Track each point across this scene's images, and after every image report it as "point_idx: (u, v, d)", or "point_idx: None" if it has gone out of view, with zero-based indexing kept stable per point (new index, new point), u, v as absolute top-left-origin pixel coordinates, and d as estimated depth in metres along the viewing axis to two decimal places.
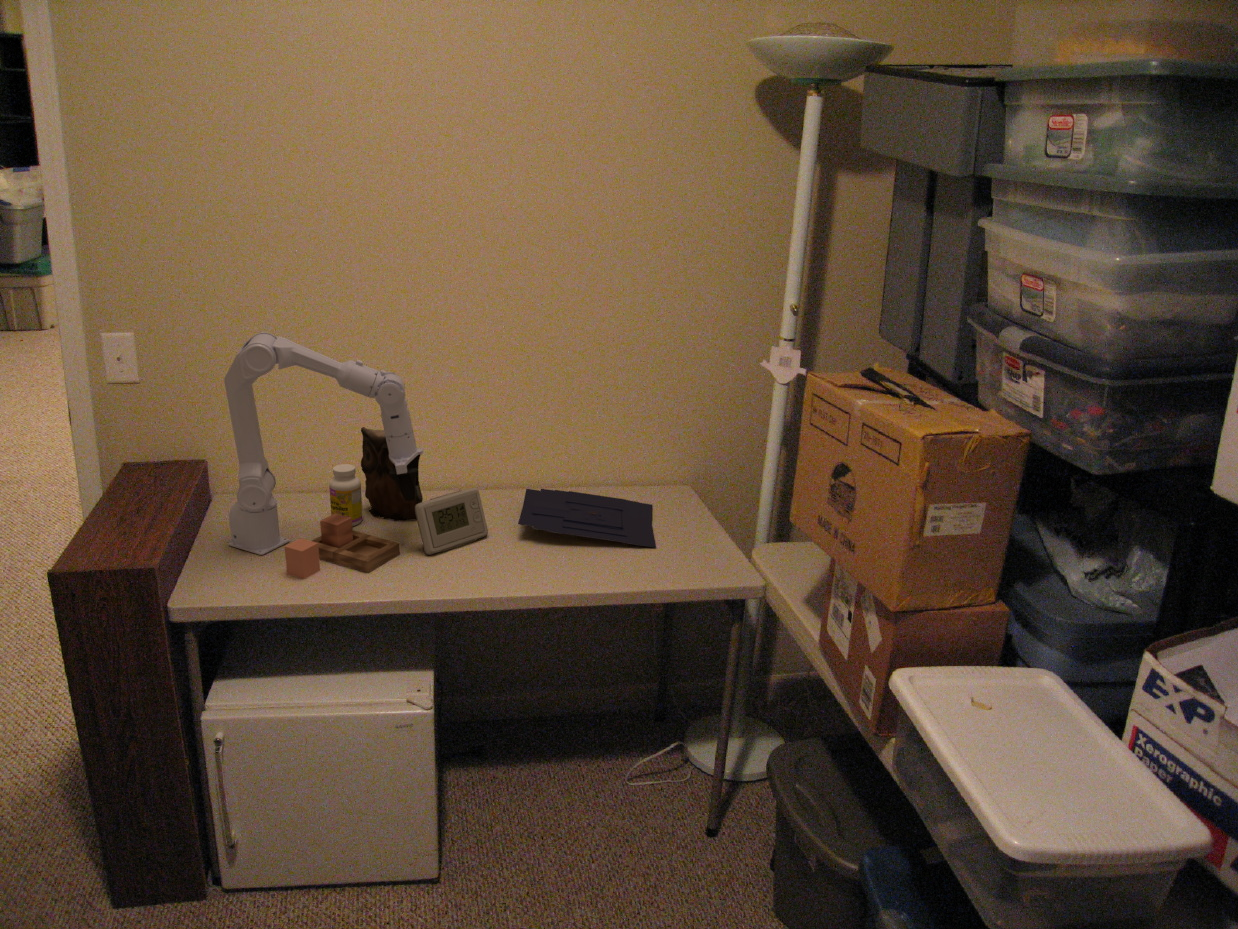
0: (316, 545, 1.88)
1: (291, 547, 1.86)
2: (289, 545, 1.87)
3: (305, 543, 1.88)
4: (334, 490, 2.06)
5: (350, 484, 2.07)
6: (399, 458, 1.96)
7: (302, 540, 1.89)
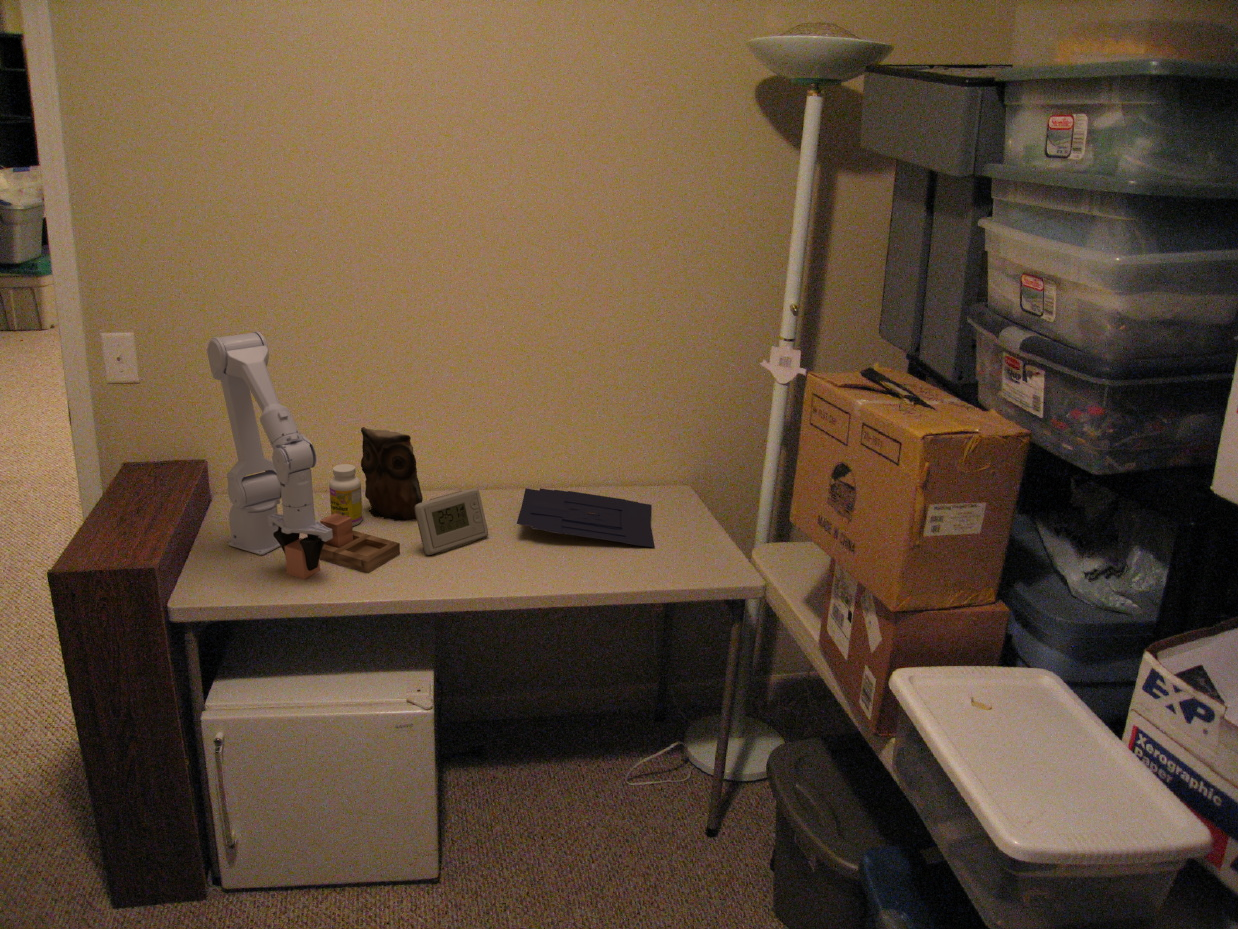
0: None
1: (291, 547, 1.86)
2: (289, 544, 1.87)
3: None
4: (334, 490, 2.06)
5: (350, 484, 2.07)
6: None
7: None
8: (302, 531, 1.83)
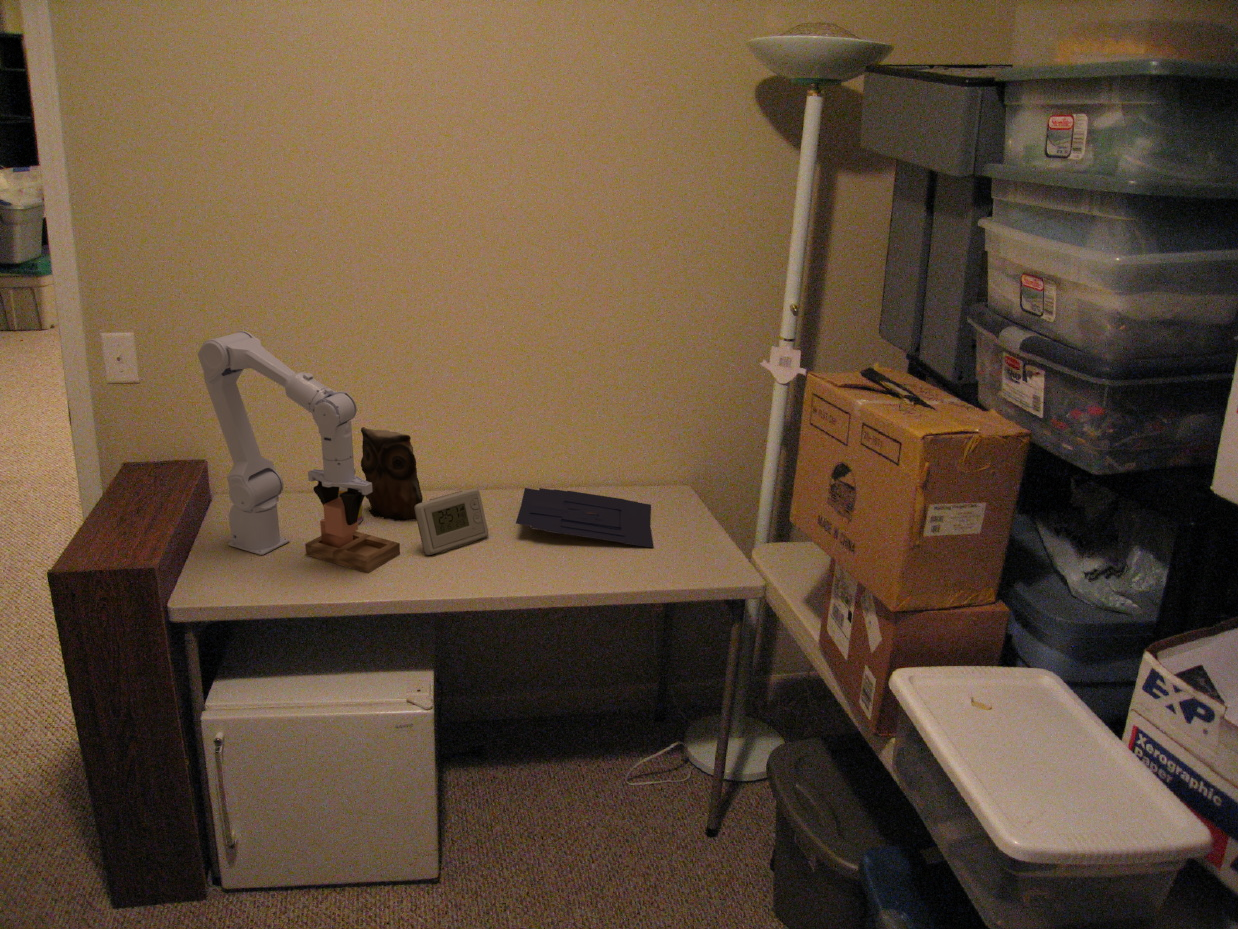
0: None
1: (329, 505, 1.87)
2: (327, 503, 1.88)
3: None
4: None
5: None
6: None
7: (340, 499, 1.90)
8: (342, 485, 1.84)
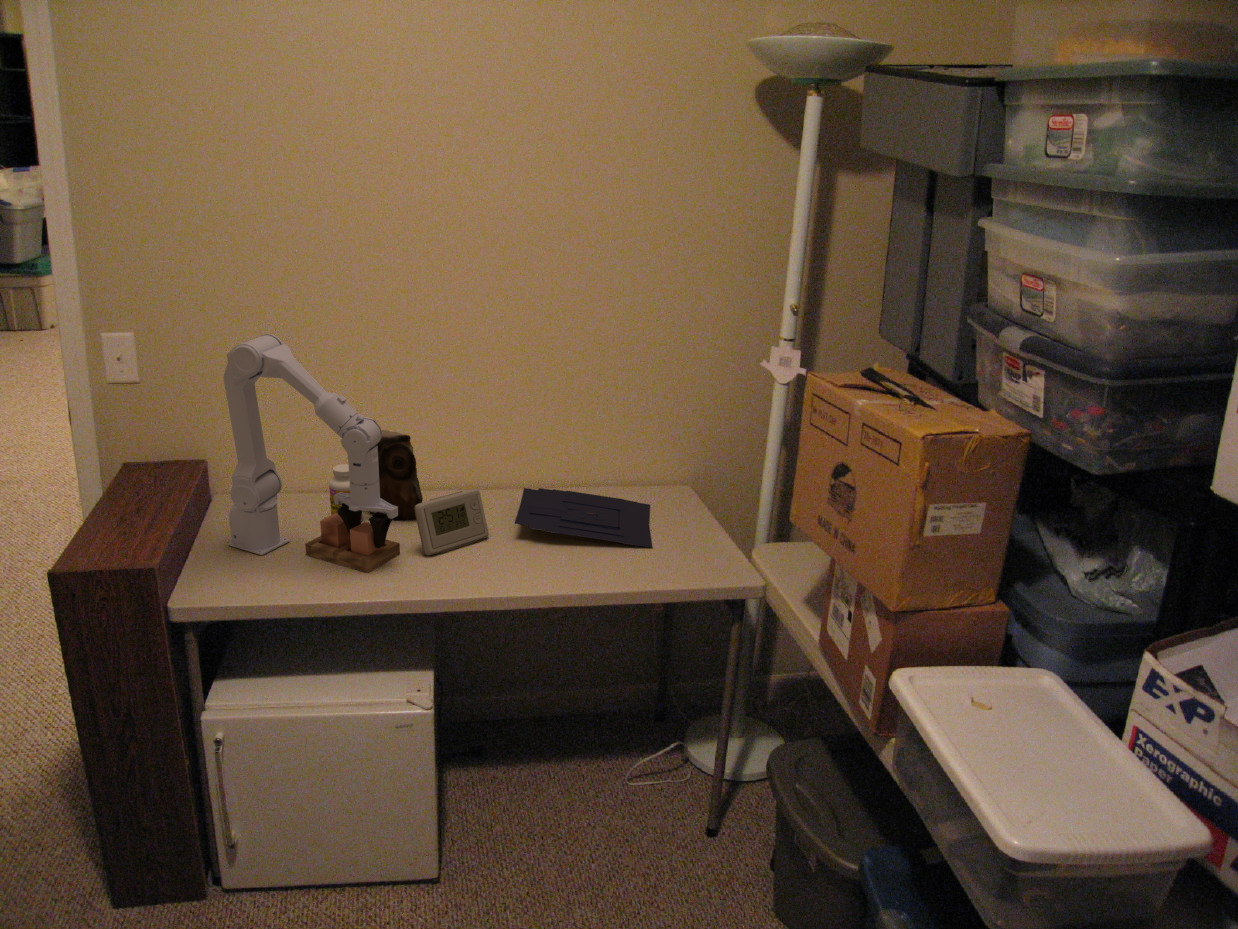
0: None
1: (356, 531, 1.92)
2: (354, 528, 1.93)
3: (369, 527, 1.93)
4: (334, 490, 2.06)
5: None
6: None
7: (366, 524, 1.95)
8: (369, 509, 1.88)
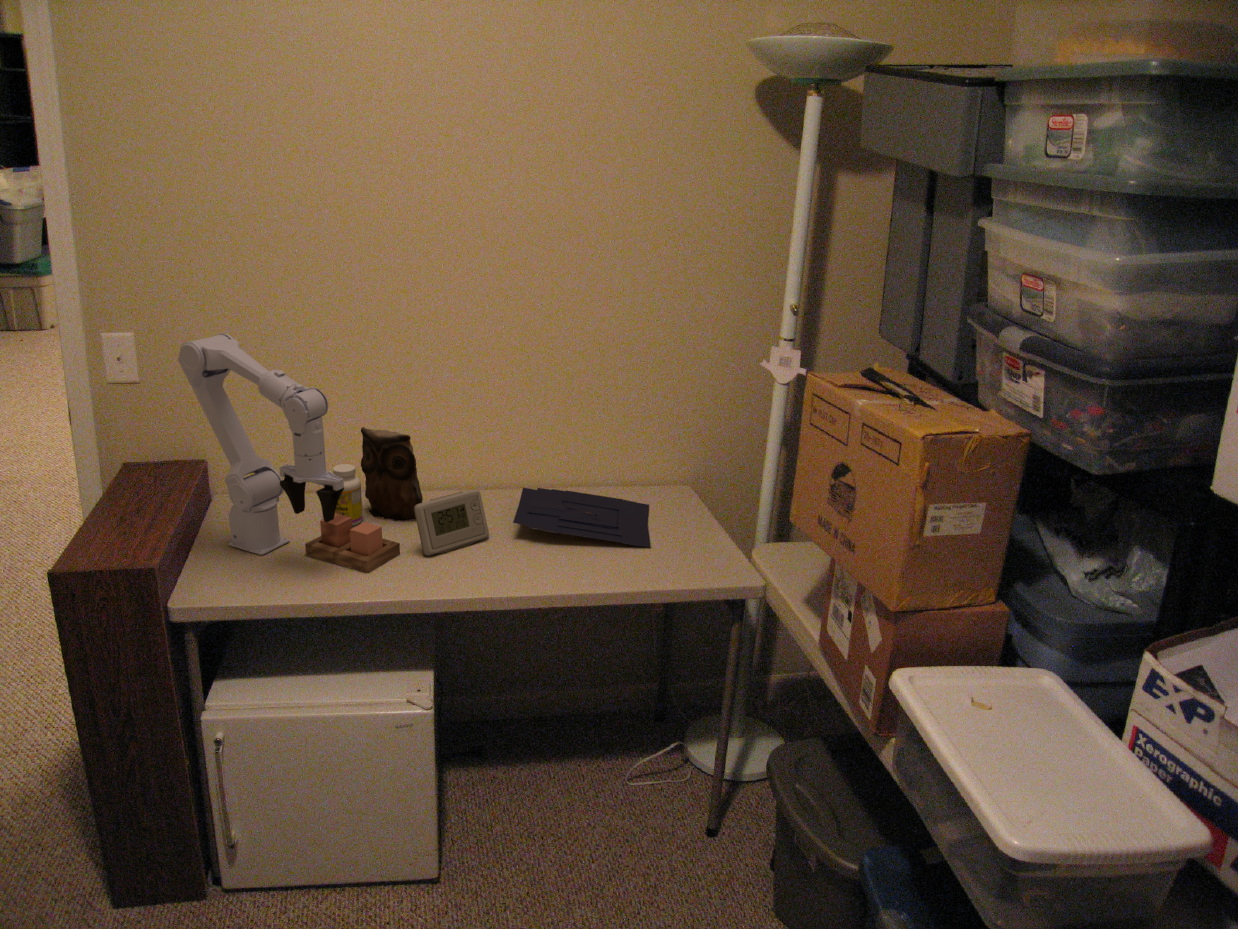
0: (380, 528, 1.94)
1: (356, 531, 1.92)
2: (354, 528, 1.93)
3: (369, 527, 1.93)
4: None
5: (350, 484, 2.07)
6: None
7: (366, 524, 1.95)
8: (314, 480, 1.84)
